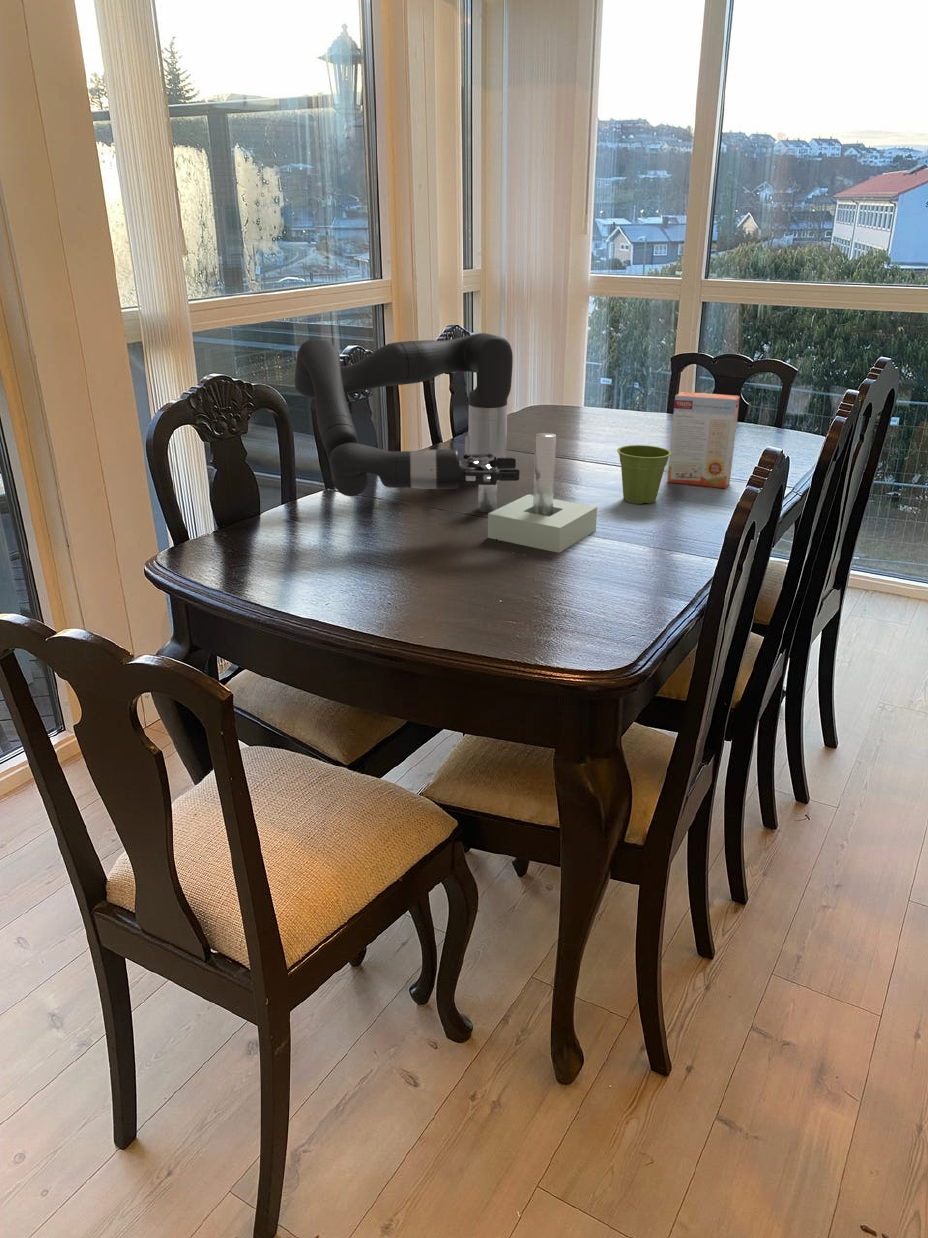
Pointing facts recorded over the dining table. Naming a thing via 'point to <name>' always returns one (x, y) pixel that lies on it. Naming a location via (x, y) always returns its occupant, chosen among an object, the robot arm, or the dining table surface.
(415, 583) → the dining table surface
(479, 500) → the short steel pin
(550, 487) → the long steel pin
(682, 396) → the cracker box
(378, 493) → the dining table surface
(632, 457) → the plant pot
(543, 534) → the hole block
